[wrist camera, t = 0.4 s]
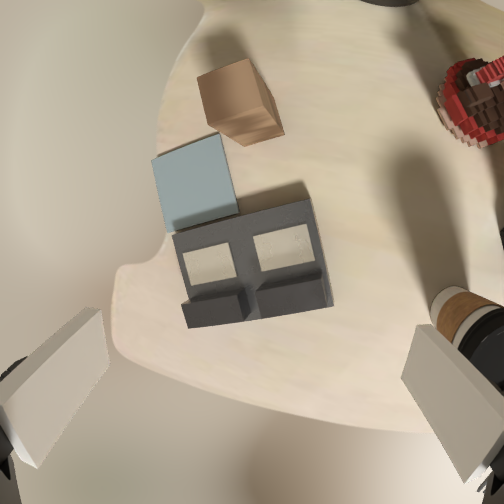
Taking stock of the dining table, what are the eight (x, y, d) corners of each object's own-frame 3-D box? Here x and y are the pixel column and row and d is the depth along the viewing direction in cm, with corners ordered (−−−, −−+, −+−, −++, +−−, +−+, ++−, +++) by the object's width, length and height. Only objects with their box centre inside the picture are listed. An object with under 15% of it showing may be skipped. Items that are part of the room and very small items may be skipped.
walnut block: (273, 97, 33) (248, 58, 22) (284, 134, 33) (263, 105, 23) (234, 110, 34) (196, 77, 24) (244, 146, 35) (207, 124, 24)
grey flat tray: (311, 199, 34) (307, 197, 29) (333, 300, 35) (333, 315, 30) (179, 233, 39) (158, 237, 34) (203, 322, 39) (187, 336, 35)
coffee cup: (481, 326, 30) (537, 382, 16) (426, 349, 32) (462, 421, 18) (473, 266, 29) (540, 301, 15) (414, 289, 32) (459, 342, 18)
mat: (220, 134, 35) (218, 133, 35) (239, 212, 36) (238, 212, 36) (152, 160, 38) (151, 160, 38) (169, 232, 39) (167, 232, 39)
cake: (452, 159, 28) (538, 127, 11) (417, 88, 28) (469, 8, 11) (510, 135, 25) (597, 103, 8) (478, 70, 25) (542, 5, 8)
